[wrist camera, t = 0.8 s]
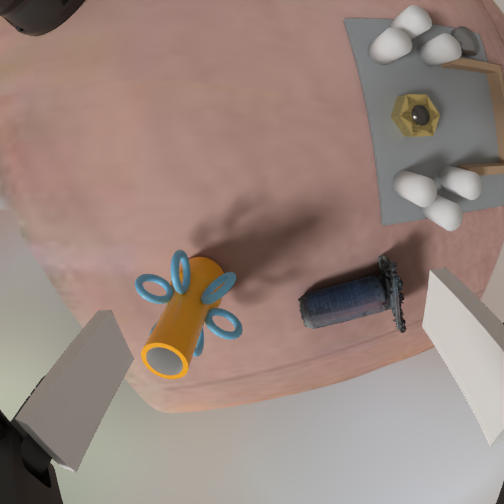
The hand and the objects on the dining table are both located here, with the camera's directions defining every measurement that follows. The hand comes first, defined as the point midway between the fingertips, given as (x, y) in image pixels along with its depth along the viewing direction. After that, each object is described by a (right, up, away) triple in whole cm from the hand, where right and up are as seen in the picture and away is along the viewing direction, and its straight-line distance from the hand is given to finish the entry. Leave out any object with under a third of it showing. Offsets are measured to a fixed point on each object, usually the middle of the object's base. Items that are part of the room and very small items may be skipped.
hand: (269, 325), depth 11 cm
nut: (+17, +18, +15) cm, 28 cm away
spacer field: (+21, +19, +15) cm, 32 cm away
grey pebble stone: (+25, +29, +10) cm, 39 cm away
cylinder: (-7, 0, +25) cm, 25 cm away
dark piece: (+11, -2, +24) cm, 27 cm away
